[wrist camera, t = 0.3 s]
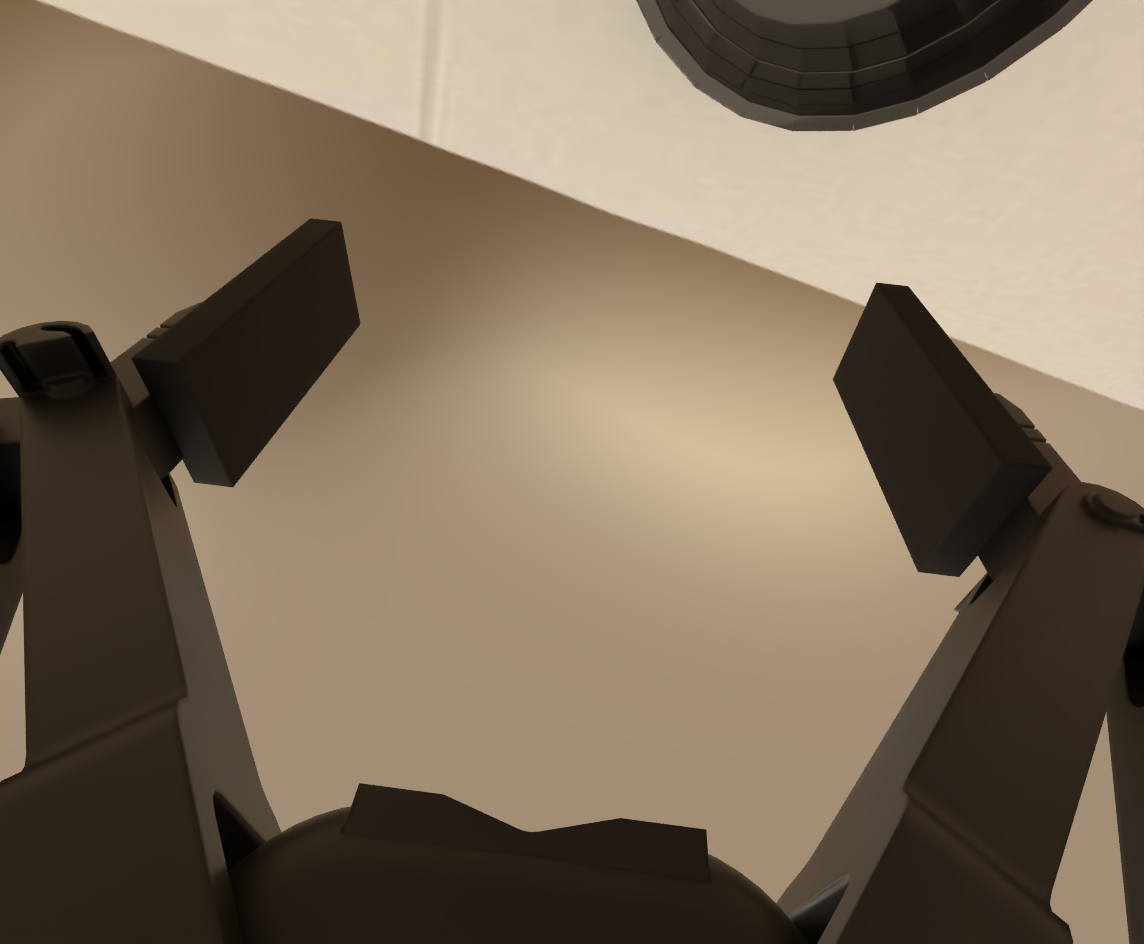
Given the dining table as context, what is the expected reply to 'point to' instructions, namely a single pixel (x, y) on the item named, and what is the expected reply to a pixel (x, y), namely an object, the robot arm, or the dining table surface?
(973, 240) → the dining table surface
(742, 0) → the bowl
